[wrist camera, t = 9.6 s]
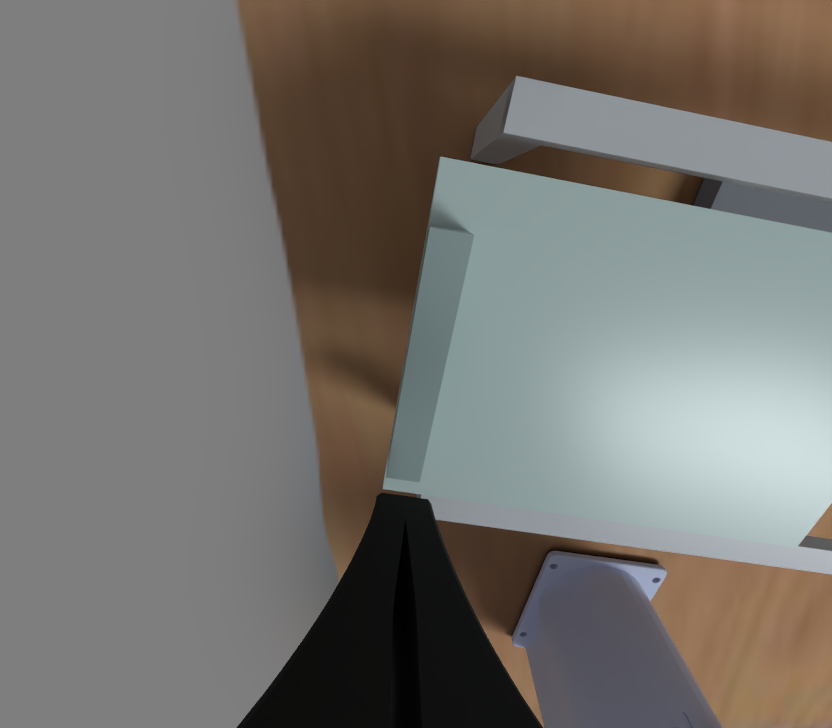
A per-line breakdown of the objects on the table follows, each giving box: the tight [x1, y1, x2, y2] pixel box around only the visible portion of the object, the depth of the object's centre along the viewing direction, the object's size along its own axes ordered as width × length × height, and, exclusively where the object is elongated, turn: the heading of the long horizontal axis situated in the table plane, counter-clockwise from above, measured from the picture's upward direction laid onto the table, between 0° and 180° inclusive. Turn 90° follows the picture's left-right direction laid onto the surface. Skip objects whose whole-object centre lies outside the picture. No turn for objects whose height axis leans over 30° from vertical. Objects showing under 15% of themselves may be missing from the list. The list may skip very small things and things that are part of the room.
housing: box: [416, 76, 832, 574], centre depth 16 cm, size 14×30×7 cm, turn 80°
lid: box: [383, 157, 832, 548], centre depth 11 cm, size 10×15×2 cm, turn 80°
